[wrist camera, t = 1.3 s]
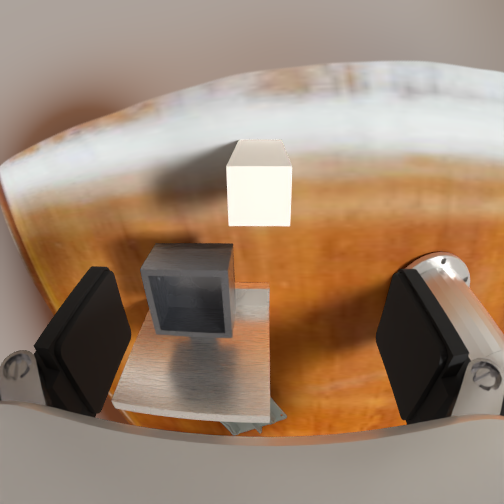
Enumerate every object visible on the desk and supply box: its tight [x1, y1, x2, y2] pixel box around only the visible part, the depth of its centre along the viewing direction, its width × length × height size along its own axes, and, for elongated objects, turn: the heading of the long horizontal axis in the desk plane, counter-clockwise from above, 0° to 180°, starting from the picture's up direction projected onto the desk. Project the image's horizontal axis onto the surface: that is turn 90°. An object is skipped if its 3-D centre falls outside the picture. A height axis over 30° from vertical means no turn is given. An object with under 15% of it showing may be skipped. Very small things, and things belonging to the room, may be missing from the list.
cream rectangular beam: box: [226, 140, 292, 226], centre depth 24 cm, size 4×4×11 cm
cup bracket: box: [112, 243, 270, 423], centre depth 29 cm, size 14×14×16 cm
